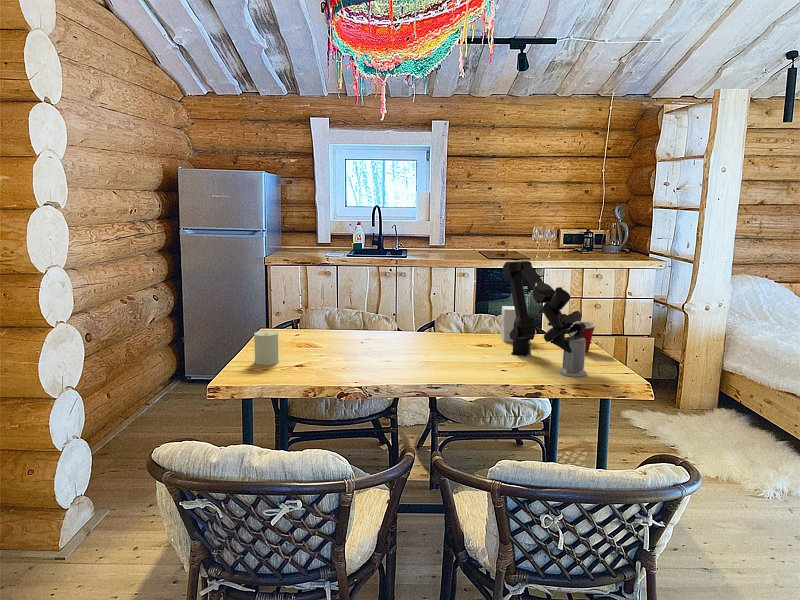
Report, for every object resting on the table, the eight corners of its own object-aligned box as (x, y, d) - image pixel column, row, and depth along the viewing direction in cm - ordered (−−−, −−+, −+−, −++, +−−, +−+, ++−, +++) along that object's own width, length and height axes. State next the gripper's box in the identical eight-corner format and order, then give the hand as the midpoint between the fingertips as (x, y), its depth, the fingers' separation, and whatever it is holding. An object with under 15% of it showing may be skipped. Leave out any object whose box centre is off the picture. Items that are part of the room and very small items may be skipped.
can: (255, 366, 240) (254, 335, 238) (253, 359, 249) (253, 329, 247) (279, 364, 242) (279, 333, 240) (277, 358, 251) (277, 328, 249)
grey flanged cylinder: (560, 368, 234) (562, 339, 232) (566, 363, 241) (567, 335, 239) (580, 371, 231) (582, 342, 229) (585, 366, 237) (587, 338, 235)
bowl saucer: (556, 374, 234) (556, 364, 234) (563, 368, 243) (564, 358, 242) (582, 378, 230) (583, 368, 229) (589, 372, 238) (589, 362, 237)
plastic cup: (562, 349, 272) (563, 321, 270) (583, 347, 276) (585, 320, 274) (577, 355, 262) (579, 327, 260) (599, 353, 266) (601, 325, 264)
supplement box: (520, 337, 292) (521, 305, 290) (523, 342, 284) (525, 309, 281) (500, 337, 293) (501, 305, 290) (503, 342, 284) (504, 309, 281)
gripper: (551, 306, 229) (575, 342, 222) (583, 301, 240) (606, 335, 234) (533, 324, 237) (555, 359, 230) (565, 318, 248) (587, 351, 241)
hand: (577, 351), depth 234 cm, fingers closed on grey flanged cylinder, 7 cm apart
